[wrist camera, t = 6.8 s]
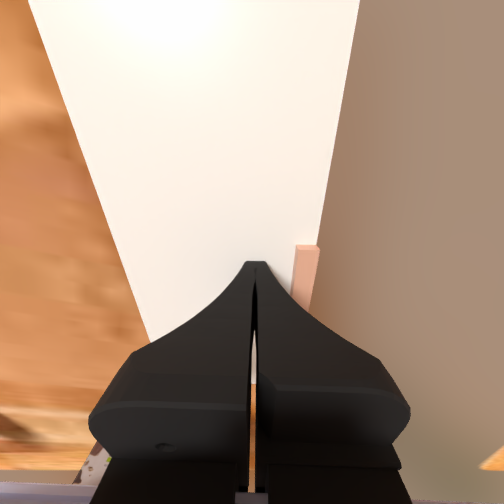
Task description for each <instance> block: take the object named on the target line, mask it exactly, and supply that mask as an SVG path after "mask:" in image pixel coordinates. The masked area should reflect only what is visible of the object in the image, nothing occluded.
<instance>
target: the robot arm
mask: <svg viewBox="0 0 504 504" xmlns="http://www.w3.org/2000/svg"><path fill="white" fill-rule="evenodd" d="M254 330H255V343H256V433H255V493H250V492H249V493H248V486H249V457H250V414H251V374H252V349H253V339H254ZM410 414H411V413H410V407H409V405H408V403H407V401H406V400H405V398H404V397H403V395H402V394H401V392H400V390H399V388H398V387H397V385H396V383H395V382H394V380H393V378H392V377H391V376H390V374H389V373H388V371H387V370H386V369H385V367H384V366H383V364H382V363H381V361H380V360H379V359H377V358H376V357H374V356H372V355H370V354H369V353H367V352H365V351H364V350H362V349H360V348H358V347H357V346H355V345H354V344H352V343H350V342H348V341H347V340H345V339H344V338H342V337H340V336H339V335H338V334H336V333H335V332H333V331H332V330H330V329H329V328H327V327H326V326H325V325H323V324H322V323H321V322H319V321H318V320H317V319H315V318H314V317H313V316H311V315H310V314H309V313H308V312H307V311H305V310H304V309H303V308H302V307H301V306H300V305H299V304H298V303H297V302H296V301H295V300H294V299H293V298H292V297H291V296H290V295H289V294H288V293H287V292H286V290H285V289H284V288H283V287H282V285H281V284H280V283H279V282H278V280H277V279H276V277H275V276H274V275H273V273H272V271H271V270H270V268H269V266H268V264H267V263H266V262H265V261H246V262H244V264H243V266H242V268H241V269H240V271H239V272H238V274H237V275H236V276H235V278H234V279H233V280H232V281H231V283H230V284H229V285H228V286H227V287H226V288H225V289H224V291H223V292H222V293H221V294H220V295H219V296H218V297H217V298H216V299H215V300H213V301H212V302H211V303H210V304H209V305H208V306H207V307H205V308H204V309H203V310H202V311H200V312H199V313H198V314H196V315H195V316H194V317H192V318H191V319H190V320H188V321H187V322H185V323H184V324H182V325H181V326H179V327H177V328H176V329H174V330H173V331H171V332H169V333H168V334H166V335H164V336H162V337H161V338H159V339H157V340H155V341H153V342H151V343H150V344H148V345H146V346H144V347H142V348H140V349H139V350H137V351H135V352H133V353H131V355H130V356H129V357H128V359H127V360H126V361H125V363H124V364H123V365H122V367H121V368H120V369H119V371H118V372H117V374H116V375H115V377H114V378H113V380H112V382H111V383H110V385H109V386H108V388H107V389H106V391H105V392H104V394H103V395H102V397H101V398H100V400H99V401H98V403H97V405H96V406H95V408H94V409H93V411H92V412H91V414H90V415H89V419H88V425H89V430H90V431H91V433H92V435H93V436H94V438H95V439H96V440H97V441H98V442H99V443H100V444H101V446H102V447H103V448H104V449H105V450H106V451H107V453H108V454H109V455H110V456H111V457H112V458H111V460H110V462H109V464H108V466H107V468H106V470H105V472H104V475H103V477H102V479H101V481H100V483H99V485H98V486H93V485H69V484H48V483H24V482H3V481H0V504H498V503H474V502H453V501H452V502H451V501H430V500H411V499H410V496H409V494H408V492H407V490H406V488H405V485H404V483H403V482H402V479H401V477H400V474H399V472H398V470H400V469H401V468H402V467H401V462H400V460H399V458H398V456H397V454H396V452H395V449H394V447H393V445H392V443H393V442H394V440H395V439H396V438H397V437H398V436H399V435H400V433H401V432H402V431H403V430H404V428H405V427H406V425H407V424H408V422H409V420H410V416H411V415H410Z"/></svg>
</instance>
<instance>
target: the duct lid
mask: <svg viewBox="0 0 504 504" xmlns="http://www.w3.org/2000/svg"><path fill="white" fill-rule="evenodd" d="M28 2H29V4H30V7H31V10H32V13H33V15H34V18H35V21H36V24H37V27H38V29H39V32H40V35H41V38H42V41H43V43H44V46H45V49H46V52H47V55H48V57H49V60H50V63H51V66H52V68H53V71H54V74H55V77H56V80H57V82H58V85H59V88H60V91H61V94H62V96H63V99H64V102H65V105H66V108H67V110H68V113H69V116H70V119H71V122H72V124H73V127H74V130H75V133H76V135H77V138H78V141H79V144H80V147H81V149H82V152H83V155H84V158H85V161H86V163H87V166H88V169H89V172H90V175H91V177H92V180H93V183H94V186H95V188H96V191H97V194H98V197H99V200H100V202H101V205H102V208H103V211H104V214H105V216H106V219H107V222H108V225H109V228H110V230H111V233H112V236H113V239H114V241H115V244H116V247H117V250H118V253H119V255H120V258H121V261H122V264H123V267H124V269H125V272H126V275H127V278H128V281H129V283H130V286H131V289H132V292H133V294H134V297H135V300H136V303H137V306H138V308H139V311H140V314H141V317H142V320H143V322H144V325H145V328H146V331H147V334H148V336H149V339H150V342H153V341H155V340H157V339H159V338H161V337H162V336H164V335H166V334H168V333H169V332H171V331H173V330H174V329H176V328H177V327H179V326H181V325H182V324H184V323H185V322H187V321H188V320H190V319H191V318H192V317H194V316H195V315H196V314H198V313H199V312H200V311H202V310H203V309H204V308H205V307H207V306H208V305H209V304H210V303H211V302H212V301H213V300H215V299H216V298H217V297H218V296H219V295H220V294H221V293H222V292H223V291H224V289H225V288H226V287H227V286H228V285H229V284H230V283H231V281H232V280H233V279H234V278H235V276H236V275H237V274H238V272H239V271H240V269H241V268H242V266H243V264H244V262H246V261H265V262H266V263H267V264H268V266H269V268H270V270H271V271H272V273H273V275H274V276H275V277H276V279H277V280H278V282H279V283H280V284H281V285H282V287H283V288H284V289H285V290H286V292H287V293H288V294H289V295H290V296H291V297H292V298H293V299H294V300H295V301H296V302H297V303H298V304H299V305H300V306H301V307H302V308H303V309H304V310H305V311H307V312H309V306H310V301H311V295H312V290H313V285H314V280H315V275H316V270H317V264H318V259H319V254H320V249H319V248H318V246H317V245H316V243H317V238H318V232H319V227H320V221H321V216H322V210H323V204H324V199H325V193H326V188H327V182H328V176H329V171H330V165H331V159H332V154H333V148H334V143H335V137H336V131H337V125H338V119H339V114H340V109H341V102H342V97H343V92H344V86H345V81H346V75H347V69H348V64H349V58H350V52H351V47H352V41H353V36H354V30H355V24H356V18H357V13H358V7H359V2H360V0H28ZM251 384H256V343H255V330H254V339H253V349H252V374H251Z"/></svg>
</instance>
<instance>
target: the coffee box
mask: <svg viewBox="0 0 504 504" xmlns="http://www.w3.org/2000/svg"><path fill="white" fill-rule="evenodd" d="M111 458H112V457H111V456H110V455H109V454H108V453H107V451H106V450H105V449H104V448H103V447H102V446H101V444H100V443H99V442H98V441H97V442H96V444H95V445H94V447H93V449H92V451H91V452H90V454H89V456H88V457H87V459H86V461H85V463H84V464H83V466H82V468H81V470H80V471H79V473H78V475H77V476H76V478H75V480H74V482H73V483H72V485H93V486H98V485H99V483H100V481H101V479H102V477H103V475H104V472H105V470H106V468H107V466H108V464H109V462H110V460H111Z"/></svg>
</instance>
